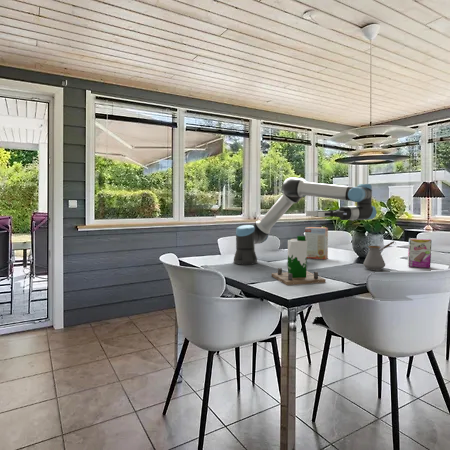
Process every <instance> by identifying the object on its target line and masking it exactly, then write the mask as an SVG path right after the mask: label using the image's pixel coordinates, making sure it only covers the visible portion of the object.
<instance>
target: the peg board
mask: <svg viewBox="0 0 450 450" xmlns="http://www.w3.org/2000/svg"><path fill="white" fill-rule="evenodd" d="M271 277H272V278H274V279H276V280H277V281H279V282H281V283H283V284H284V285H285V286H292V285H306V284H308V285H309V284H319V283H322V284H324V283H326V282H327V281H326V280H327V279H326V278H324V277H322V276H319V272H318V271H313V273H312V272H310V271H308V270H307V271H306V277H303V278H292V273H288V271H286V272H283V269H282V268H281V267H279V268H277V272H272V273H271Z"/></svg>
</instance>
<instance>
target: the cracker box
mask: <svg viewBox="0 0 450 450" xmlns="http://www.w3.org/2000/svg"><path fill="white" fill-rule="evenodd" d="M304 236H305V238H306V241H307V259H310V260H312V259H315V260H327V259H328V257H329V256H328V255H329V254H328V253H329V249H328V248H329V244H328V243H329V228H328V227H317V226H316V227H315V226H308V227H307V226H306V227H305V228H304Z"/></svg>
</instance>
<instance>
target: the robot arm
mask: <svg viewBox="0 0 450 450" xmlns="http://www.w3.org/2000/svg"><path fill="white" fill-rule="evenodd" d="M281 188H282V195H280V197H279V198H278V199H277V200H276V201H275V203H274V204H273V205H272V206H271V207H270V208H269V210H268V211H267V212H266V214H264V216H262V218H261V219H260V220H256V221H255V222H254V224H243V225H240V226H238V227H236V230H235V249H236V250H235V254H234V256H233V264H237V265H255V264H257V263H258V257H257V255H256V251H255V249H256V248H255V246H256V245H257V244H263V243H264V242H266V241H267V240H268V238H269V235H270V233H271V229H272V228H273V227H274V226H275V225H276V223H277V222H278V221H279V220H280V219H281V218H282V217H283V216H284V214H286V212H288V210H289V209H290V208H291V206H293V205H294V204H298V202H299V201H300V200H301V199H302V198H305V197H306V196H308V197H313V198H315V197H317V198H325V199H331V200H332V199H333V200H340V201H347V202H348V201H349V202H354V203H356V205H346V206H345V205H343V206H340V207H339V209H330V210H306V211H305V216H306V217H317V218H327V217H328V218H330V217H331V218H332V217H333V218H339V219H340V220H341V221H352V222H354V221H359V220H360V221H365V220H366V221H367V220H373V219H375V218H376V216H377V210H376V207H375V206H374V205H372V198H373V197H372V196H373V195H372V194H373V187H372V184H371V183H360V184H357V186H352V185H351V186H350V185H339V184H329V183H318V182H310V181H308V180H306V179H305V178H303V177H295V176H292V177H287V178H286V179H285V180H284V181H283V182H282V186H281Z"/></svg>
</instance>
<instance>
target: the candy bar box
mask: <svg viewBox="0 0 450 450" xmlns="http://www.w3.org/2000/svg"><path fill="white" fill-rule="evenodd" d="M407 249H408V251H407V253H408V254H407V267H408V268H421V269H422V268H423V269H431V260H432V259H431V258H432V239H430V238H416V237H415V238H413V237H412V238H411V237H408V247H407Z"/></svg>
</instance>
